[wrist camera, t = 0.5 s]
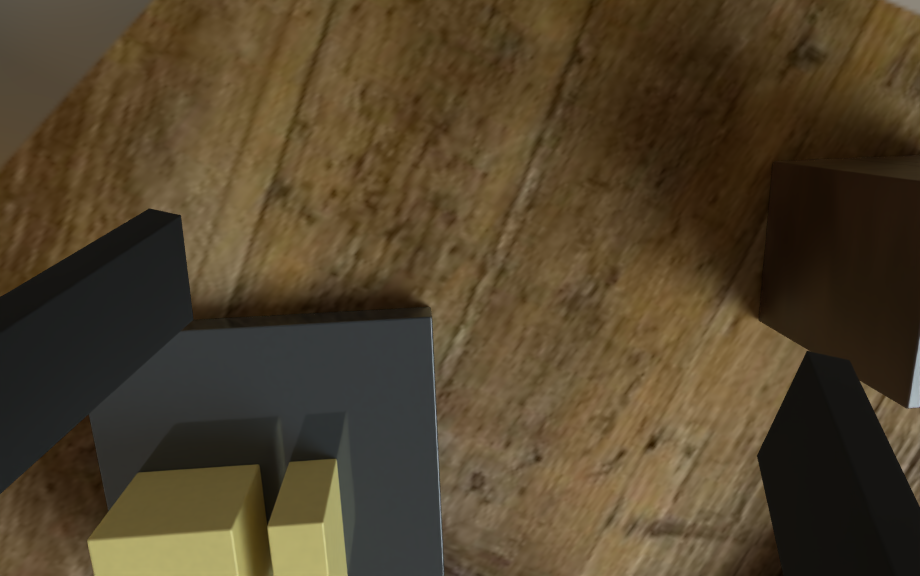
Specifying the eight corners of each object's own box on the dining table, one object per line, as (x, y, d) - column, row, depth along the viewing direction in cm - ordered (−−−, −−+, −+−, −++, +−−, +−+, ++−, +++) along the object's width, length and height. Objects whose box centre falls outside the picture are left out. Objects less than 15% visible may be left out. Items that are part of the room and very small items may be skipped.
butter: (137, 471, 27) (85, 540, 23) (259, 463, 27) (231, 529, 23) (159, 593, 29) (115, 679, 24) (275, 584, 29) (251, 667, 25)
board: (90, 324, 27) (72, 336, 25) (430, 306, 28) (431, 316, 26) (158, 678, 32) (146, 705, 30) (447, 652, 32) (449, 677, 31)
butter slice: (289, 461, 27) (266, 526, 23) (336, 457, 28) (323, 522, 23) (302, 582, 29) (284, 664, 25) (348, 578, 29) (337, 659, 25)
